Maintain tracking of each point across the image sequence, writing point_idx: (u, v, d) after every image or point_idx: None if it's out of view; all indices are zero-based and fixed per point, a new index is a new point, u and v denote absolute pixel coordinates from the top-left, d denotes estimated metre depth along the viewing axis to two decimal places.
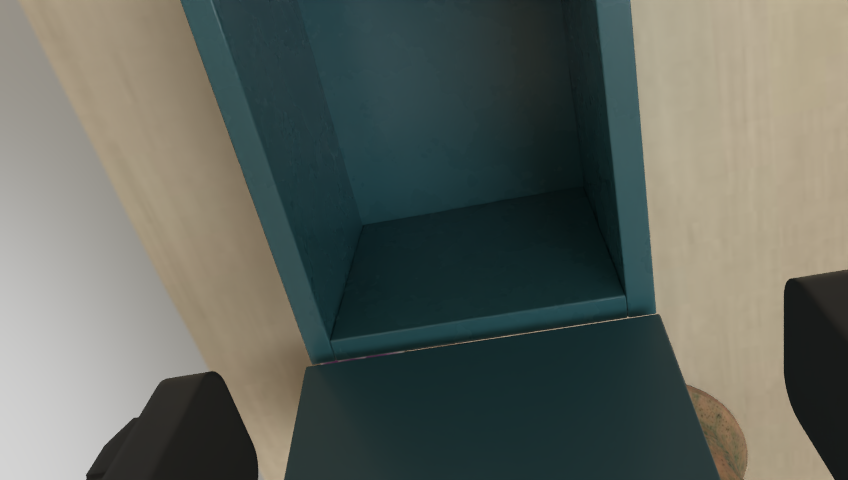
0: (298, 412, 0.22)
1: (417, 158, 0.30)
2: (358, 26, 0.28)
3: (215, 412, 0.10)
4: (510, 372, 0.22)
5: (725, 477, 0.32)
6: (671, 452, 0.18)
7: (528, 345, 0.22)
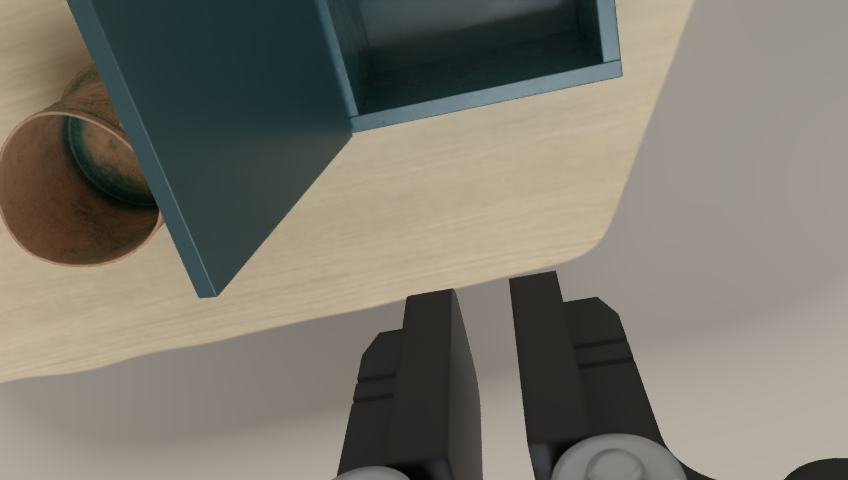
0: None
1: None
2: None
3: (459, 327, 0.10)
4: (316, 54, 0.34)
5: None
6: (314, 155, 0.33)
7: (327, 62, 0.35)
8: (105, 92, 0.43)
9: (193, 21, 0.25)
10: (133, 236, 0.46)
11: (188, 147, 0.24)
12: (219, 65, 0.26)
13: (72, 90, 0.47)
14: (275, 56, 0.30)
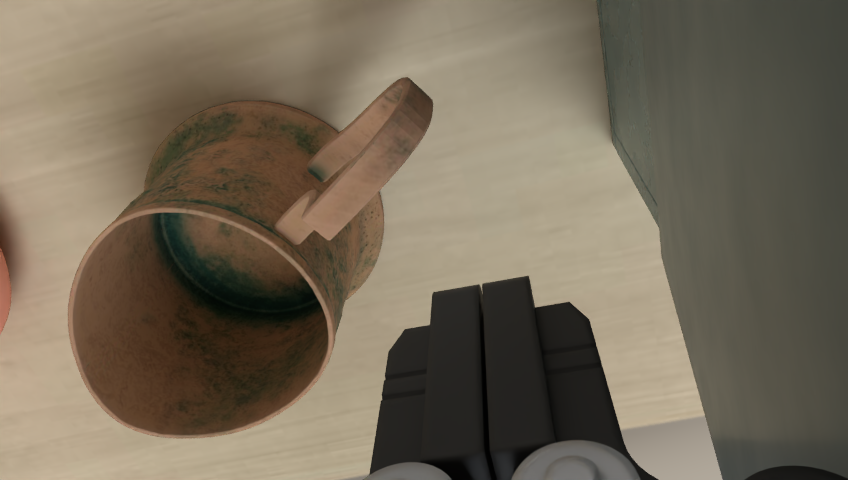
0: None
1: None
2: None
3: None
4: None
5: None
6: None
7: None
8: (237, 165, 0.27)
9: None
10: (265, 374, 0.30)
11: None
12: None
13: (170, 152, 0.31)
14: None
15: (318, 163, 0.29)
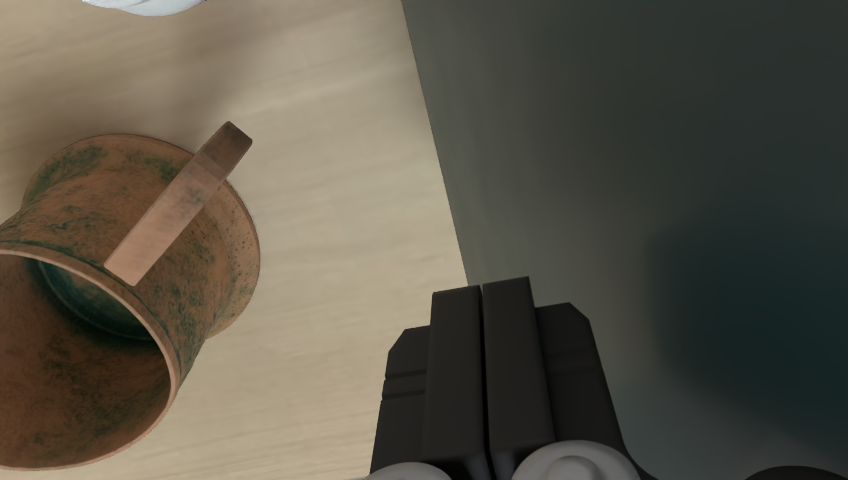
0: None
1: None
2: None
3: None
4: None
5: None
6: None
7: None
8: (86, 202, 0.28)
9: None
10: (129, 404, 0.31)
11: None
12: None
13: (39, 184, 0.32)
14: None
15: None
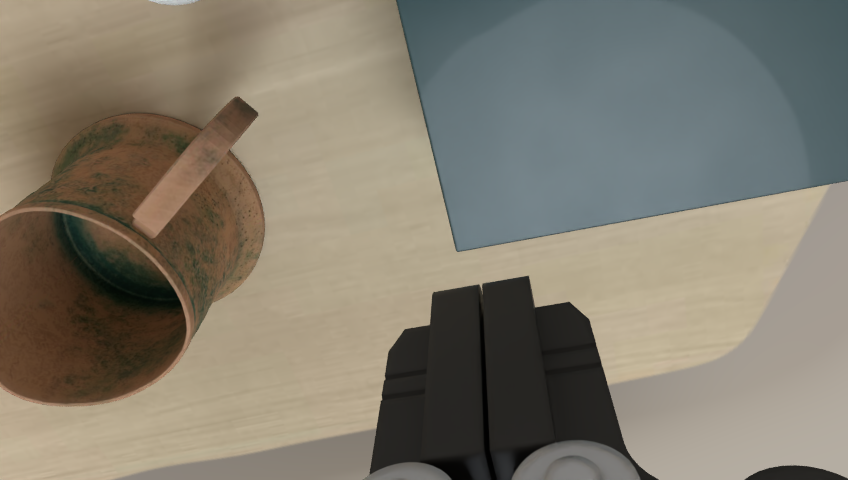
0: None
1: None
2: None
3: None
4: None
5: (211, 303, 0.35)
6: None
7: None
8: (112, 170, 0.31)
9: None
10: (148, 353, 0.35)
11: None
12: None
13: (68, 158, 0.36)
14: None
15: None
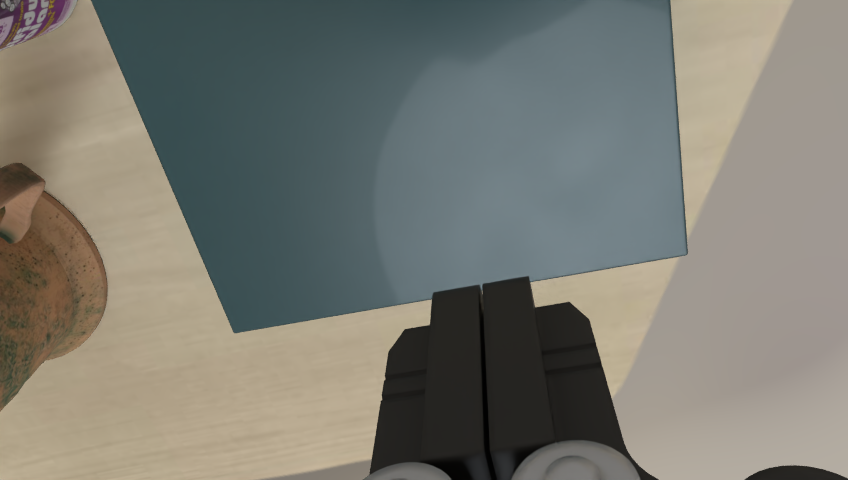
0: None
1: None
2: None
3: None
4: None
5: (34, 366, 0.33)
6: None
7: None
8: None
9: None
10: None
11: None
12: None
13: None
14: None
15: (5, 226, 0.32)
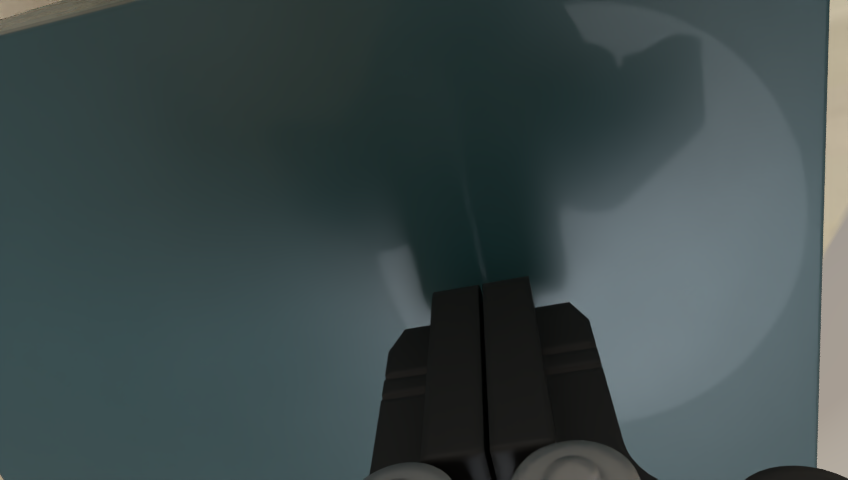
0: None
1: None
2: None
3: None
4: None
5: None
6: None
7: None
8: None
9: None
10: None
11: None
12: None
13: None
14: None
15: None
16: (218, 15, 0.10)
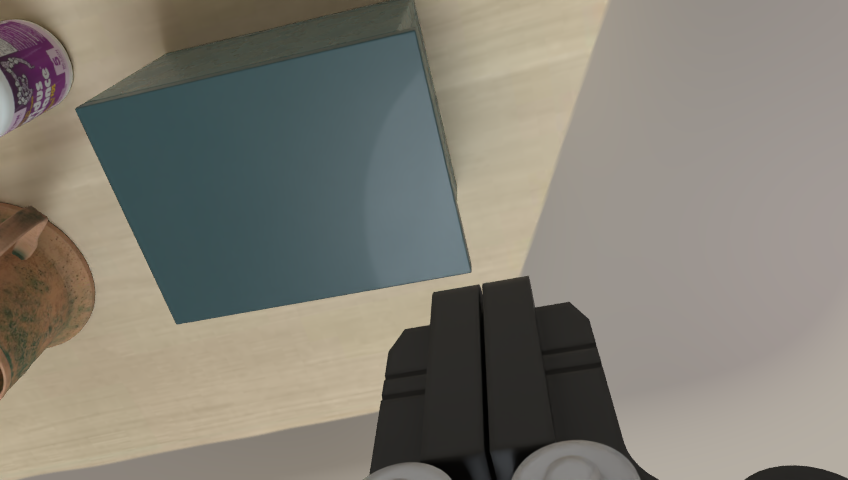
0: (122, 95, 0.31)
1: None
2: None
3: None
4: None
5: (39, 350, 0.45)
6: None
7: None
8: None
9: None
10: None
11: None
12: None
13: None
14: None
15: (18, 247, 0.43)
16: (237, 81, 0.30)
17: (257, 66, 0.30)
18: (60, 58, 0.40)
